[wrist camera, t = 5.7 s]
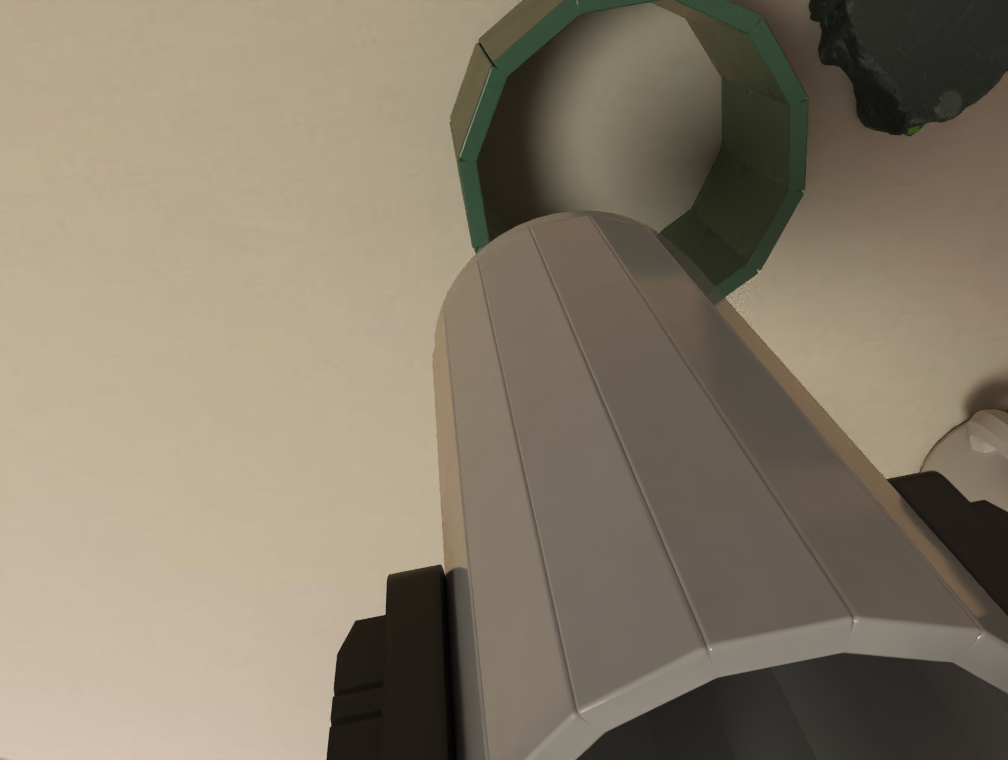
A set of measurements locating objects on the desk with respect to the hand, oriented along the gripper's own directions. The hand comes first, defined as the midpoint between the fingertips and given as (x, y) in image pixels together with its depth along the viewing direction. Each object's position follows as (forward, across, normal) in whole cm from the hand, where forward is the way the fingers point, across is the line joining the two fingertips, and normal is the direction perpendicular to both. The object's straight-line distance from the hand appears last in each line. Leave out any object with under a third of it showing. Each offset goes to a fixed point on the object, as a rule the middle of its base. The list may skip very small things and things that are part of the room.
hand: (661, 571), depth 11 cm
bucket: (+23, -4, 0) cm, 24 cm away
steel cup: (+7, 0, 0) cm, 7 cm away
